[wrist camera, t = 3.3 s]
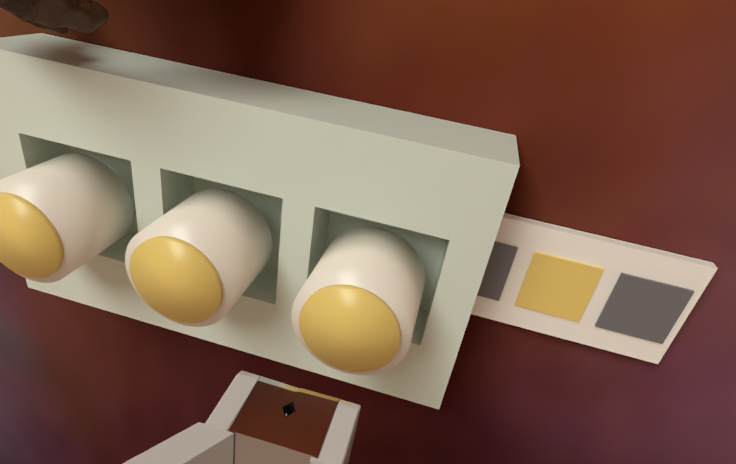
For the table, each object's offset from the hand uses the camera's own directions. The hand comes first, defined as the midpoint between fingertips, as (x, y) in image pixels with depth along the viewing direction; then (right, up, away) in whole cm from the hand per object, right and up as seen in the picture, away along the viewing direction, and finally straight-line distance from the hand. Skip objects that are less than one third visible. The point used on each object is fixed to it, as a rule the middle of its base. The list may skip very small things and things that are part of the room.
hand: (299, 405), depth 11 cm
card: (+9, +2, +6) cm, 11 cm away
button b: (-3, +4, +6) cm, 8 cm away
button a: (+2, +3, +5) cm, 6 cm away
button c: (-9, +5, +6) cm, 12 cm away
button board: (-3, +5, +8) cm, 10 cm away
